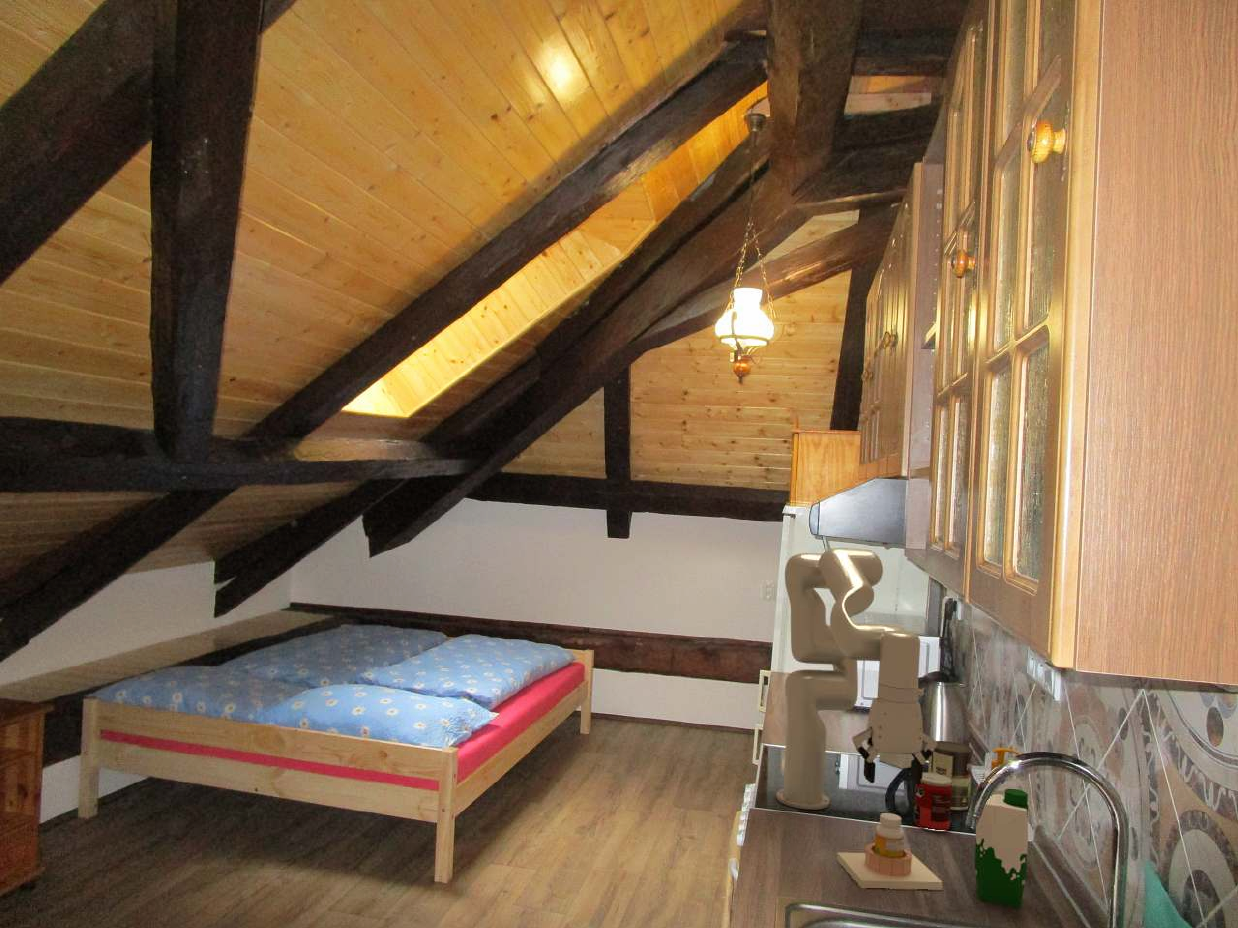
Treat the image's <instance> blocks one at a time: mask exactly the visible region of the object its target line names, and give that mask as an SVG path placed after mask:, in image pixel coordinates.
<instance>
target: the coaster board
mask: <svg viewBox="0 0 1238 928" xmlns="http://www.w3.org/2000/svg"><path fill="white" fill-rule="evenodd" d="M865 853H866V852H836V861H837V863H838V864H839V865H840V866H841V867H842V866H843V867H844V868H845V869H846V870H847V871H846V870H845V869H844V868H843V867H842V868H843V869H844V870H845V871H846V872H847V874H848V873H849V874H850V875H851V876H852V877H851V876H850V875H849V874H848V875H849V876H850V877H851V878H852V880H853V881H854V880H855V881H856V882H857V883H858V884H857V883H856V882H855V881H854V882H855V883H856V884H857V885H858V886H859V885H860V886H861V887H878V888H879V887H880V888H885V889H884V890H917V889H928V891H929V890H930V891H934V890H935V891H942V890H943V881H942V880H941V879H940V878H938V876H937V875H936V874H935V873H934V872H932V871H931V870H930V869H929V868H928V867H927V866H926V865H925V864H924V863H923V862H921V861H920V860H919V858H917V857H916V856H915V855H914V854H913V853H912V870H911V873H910V874H909V875H905V876H889V875H885V874H880V873H878V872H875V871H873V870H871V869H869V868H868V867H867V866H866V865H865ZM860 886H859V887H860ZM886 888H887V889H886ZM888 888H889V889H888ZM913 888H914V889H913Z"/></svg>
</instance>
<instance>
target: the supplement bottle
mask: <svg viewBox="0 0 1238 928" xmlns="http://www.w3.org/2000/svg"><path fill="white" fill-rule="evenodd" d="M879 822H880V824H877V826H876V827H875V837H874V843H875V853H876V854H879V855H881V856H884V857H889V858H903V848H905V847H904V843H905V832H904V830H903V828H902V827H901V826H902V817H901V816H900V815H898V814H895V813H890V812H889V813H888V812H883V813H880V816H879Z"/></svg>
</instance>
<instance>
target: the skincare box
mask: <svg viewBox="0 0 1238 928" xmlns="http://www.w3.org/2000/svg"><path fill="white" fill-rule="evenodd" d="M912 760H914V757H913V756H912V754H895V753H879V762H881V763H885V764H888V765H890V766H894V767H897V768H899V769H908V768H911V761H912Z"/></svg>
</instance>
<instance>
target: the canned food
mask: <svg viewBox="0 0 1238 928" xmlns="http://www.w3.org/2000/svg"><path fill="white" fill-rule="evenodd" d="M914 784H915V788H914V805H913V822H914V824H915V825H916V826H917V827H918V828H920V827H922V828H928V829H935V830H947V831H949V829H950V827H951V812H952V811H951V795H952V780H951V779H949V778H948V777H945V776H943V775H939V774H934V773H928V772H923V775H922V779H921V784H920V785H917V784H916V783H914ZM922 828H921V829H922Z"/></svg>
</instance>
